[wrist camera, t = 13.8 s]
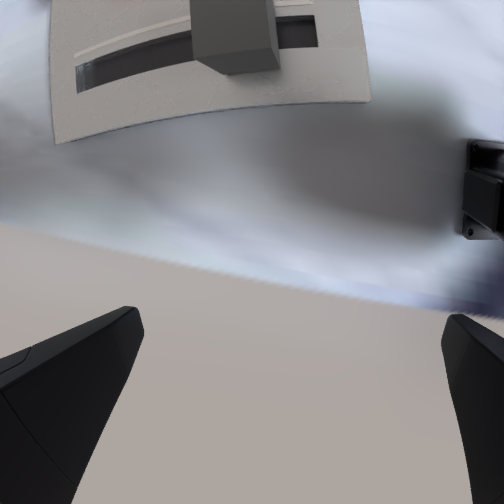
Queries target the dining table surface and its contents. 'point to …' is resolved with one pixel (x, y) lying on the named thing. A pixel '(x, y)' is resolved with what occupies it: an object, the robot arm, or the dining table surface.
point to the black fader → (234, 35)
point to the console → (191, 63)
